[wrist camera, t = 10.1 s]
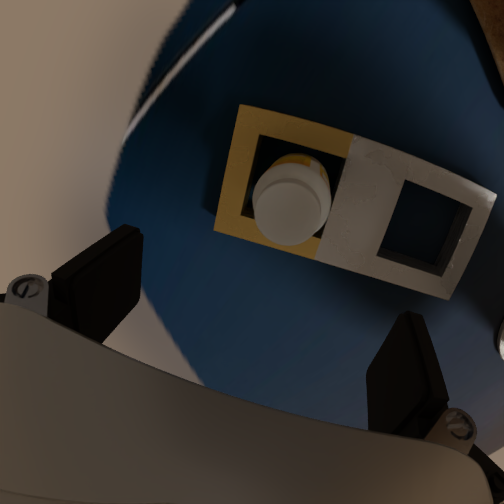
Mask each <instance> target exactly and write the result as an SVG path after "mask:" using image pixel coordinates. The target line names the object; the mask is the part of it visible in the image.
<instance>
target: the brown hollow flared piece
mask: <svg viewBox="0 0 504 504" xmlns="http://www.w3.org/2000/svg"><path fill="white" fill-rule="evenodd" d="M470 2H471V5H472V7H473V9H474V11H475V14H476V16H477V18H478V20H479V22H480V25H481V27H482V30H483V32H484V34H485V37H486V40H487V42H488V44H489V47H490V50H491V52H492V55H493V58H494V60H495V63H496V66H497V69H498V71H499V74H500V77H501V79H502V82H503V85H504V0H470Z"/></svg>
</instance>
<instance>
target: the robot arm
mask: <svg viewBox="0 0 504 504" xmlns="http://www.w3.org/2000/svg"><path fill="white" fill-rule="evenodd" d="M142 252H143V234H142V233H140V229H139V228H136V227H133V226H130V225H127V224H123V225H122V226H120V227H119V228H117V229H115V230H114V231H112V232H111V233H109V234H108V235H106V236H105V237H103V238H102V239H100V240H99V241H97V242H96V243H94V244H93V245H91V246H90V247H88V248H87V249H85V250H84V251H82V252H81V253H79V254H78V255H77V256H75V257H74V258H72V259H71V260H69V261H68V262H67V263H65V264H64V265H62V266H61V267H59V268H58V269H57V270H55V271H54V272H53V273H51V276H52V279H51V280H50V281H48V282H47V280H46V279H45V278H44V277H42V276H40V275H36V274H27V275H22V276H19V277H17V278H15V279H14V280H12V282H11V283H10V284H9V286H8V288H7V292H6V293H5V294H0V504H504V471H503V470H502V469H501V468H499V467H498V466H497V465H496V464H495V463H494V462H493V461H492V460H491V459H490V458H489V457H488V456H487V455H486V454H485V453H484V452H482V451H481V450H480V449H479V448H478V447H477V446H476V445H475V444H474V441H475V439H476V436H477V428H476V425H475V422H474V421H473V419H472V418H471V417H470V416H469V415H468V414H467V413H466V412H465V411H463V410H461V409H458V408H449V409H448V405H447V402H448V401H449V396H448V393H447V389H446V385H445V382H444V379H443V375H442V372H441V369H440V366H439V362H438V359H437V356H436V353H435V350H434V347H433V344H432V341H431V338H430V335H429V332H428V330H427V327H426V324H425V321H424V319H423V316H422V315H420V314H417V313H414V312H410V311H406V312H405V313H404V314H402V313H401V314H400V315H399V316H398V318H397V320H396V321H395V323H394V325H393V327H392V329H391V330H390V332H389V334H388V336H387V337H386V339H385V341H384V342H383V344H382V346H381V348H380V349H379V351H378V353H377V354H376V356H375V357H374V359H373V361H372V362H371V364H370V365H369V367H368V369H367V373H366V385H367V404H368V430H364V429H359V428H354V427H349V426H344V425H339V424H335V423H330V422H326V421H321V420H317V419H313V418H308V417H304V416H300V415H297V414H293V413H289V412H285V411H282V410H278V409H274V408H271V407H267V406H264V405H260V404H257V403H254V402H250V401H247V400H244V399H241V398H237V397H234V396H231V395H228V394H225V393H222V392H219V391H216V390H213V389H210V388H208V387H205V386H202V385H199V384H196V383H194V382H191V381H188V380H185V379H183V378H180V377H178V376H175V375H172V374H170V373H167V372H165V371H162V370H160V369H157V368H155V367H152V366H150V365H148V364H145V363H143V362H141V361H138V360H136V359H134V358H131V357H129V356H127V355H124V354H122V353H120V352H118V351H116V350H113V349H111V348H109V347H107V346H105V345H103V344H102V343H103V342H104V340H105V339H106V338H107V337H108V336H109V335H110V333H112V331H113V330H114V329H115V328H116V327H117V326H118V324H119V323H120V322H121V321H122V320H123V319H124V318H125V317H126V315H128V313H129V312H130V311H131V310H132V309H133V308H134V307H135V306H136V305H137V303H138V301H139V299H140V290H141V268H142ZM497 348H498V352H499V354H500V356H501V358H502V359H503V360H504V320H503V322H502V324H501V327H500V330H499V332H498V338H497Z"/></svg>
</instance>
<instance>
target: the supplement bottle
mask: <svg viewBox="0 0 504 504" xmlns="http://www.w3.org/2000/svg"><path fill="white" fill-rule="evenodd" d="M330 208H331V194H330V185H329V179H328V175H327V172H326V170H325V168H324V167H323V165H322V164H321V163H320V162H319V161H318V160H317V159H315V158H314V157H312V156H310V155H307V154H304V153H291V154H287V155H284V156H282V157H280V158H279V159H278V160H276V161H275V162H274V163H273V164H272V165H271V167H270V168H269V169H268V170H267V171H266V172H265V173H264V174H263V175H262V176H261V177H260V179H259V180H258V182H257V184H256V186H255V189H254V192H253V209H254V216H255V221H256V224H257V227H258V229H259V230H260V232H261V233H262V234H263V235H264V236H265V237H266V238H267V239H269V240H270V241H272V242H274V243H276V244H279V245H285V246H293V245H298V244H301V243H303V242H305V241H306V240H308V239H309V238H310V237H311V236H312V235H313V234H314V233H315V232H317V231H318V230H319V229H320V228H321V227H322V226H323V225H324V223H325V222H326V220H327V218H328V216H329V213H330Z"/></svg>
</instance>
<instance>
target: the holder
mask: <svg viewBox="0 0 504 504" xmlns="http://www.w3.org/2000/svg"><path fill="white" fill-rule="evenodd" d="M264 135H265V136H269V137H273V138H277V139H281V140H285V141H288V142H292V143H296V144H299V145H303V146H306V147H310V148H313V149H317V150H320V151H323V152H327V153H330V154H333V155H336V156H340V157H343V160H342V163H341V166H340V170H339V173H338V176H337V180H336V183H335V186H334V189H333V192H332V196H331V208H330V213H329V216H328V218H327V220H326V222H325V223H324V225H323V226H322V227H321V228H320V229H319V230H318V231H317V232H315V233H314V234H313V235H312V236H311V237H310V238H309V239H308V240H306V241H305V242H303V243H301V244H298V245H293V246H285V245H279V244H276V243H274V242H272V241H270V240H269V239H267V238H266V237H265V236H264V235H263V234H262V233H261V232H260V230H259V229H258V227H257V224H256V221H255V216H254V209H253V208H250V207H247V203H248V199H249V195H250V191H251V186H252V182H253V178H254V174H255V169H256V165H257V161H258V157H259V153H260V148H261V144H262V140H263V136H264ZM405 179H406V180H408V181H411V182H414V183H416V184H419V185H421V186H424V187H426V188H429V189H431V190H433V191H436V192H438V193H441V194H443V195H445V196H448V197H450V198H452V199H455V200H457V201H459V202H461V203H460V205H459V208H458V210H457V213H456V215H455V218H454V220H453V223H452V225H451V228H450V230H449V232H448V235H447V237H446V239H445V242H444V244H443V246H442V248H441V251H440V253H439V255H438V257H437V259H436V261H435V264H434V265H433V264H430V263H428V262H425V261H422V260H419V259H416V258H413V257H410V256H407V255H404V254H401V253H398V252H395V251H392V250H389V249H386V248H383V247H380V245H381V242H382V240H383V237H384V235H385V232H386V229H387V227H388V224H389V222H390V219H391V216H392V214H393V211H394V208H395V206H396V203H397V200H398V197H399V195H400V192H401V189H402V186H403V183H404V180H405ZM496 196H497V194H495V193H493V192H492V191H490V190H488V189H486V188H485V187H483V186H481V185H479V184H477V183H475V182H473V181H471V180H468V179H466V178H464V177H462V176H460V175H458V174H456V173H454V172H451V171H449V170H447V169H445V168H442V167H440V166H438V165H436V164H433V163H431V162H429V161H426V160H424V159H421V158H419V157H416V156H414V155H411V154H409V153H406V152H404V151H401V150H399V149H396V148H393V147H391V146H388V145H385V144H383V143H380V142H377V141H374V140H371V139H368V138H366V137H363V136H360V135H357V134H354V133H351V132H347V131H344V130H341V129H338V128H335V127H331V126H328V125H325V124H321V123H318V122H314V121H311V120H307V119H304V118H300V117H296V116H292V115H289V114H285V113H281V112H277V111H272V110H268V109H264V108H260V107H255V106H251V105H244V104H240V106H239V111H238V115H237V120H236V124H235V129H234V133H233V138H232V142H231V147H230V152H229V156H228V161H227V166H226V171H225V175H224V180H223V185H222V190H221V195H220V200H219V205H218V210H217V215H216V221H215V226H214V231H218V232H221V233H225V234H228V235H232V236H235V237H238V238H242V239H245V240H249V241H252V242H256V243H259V244H262V245H266V246H269V247H273V248H276V249H279V250H283V251H286V252H290V253H293V254H296V255H300V256H303V257H306V258H310V259H313V260H317V261H320V262H323V263H327V264H330V265H333V266H337V267H340V268H343V269H347V270H350V271H353V272H357V273H360V274H363V275H367V276H370V277H373V278H377V279H380V280H383V281H387V282H390V283H393V284H396V285H400V286H403V287H406V288H409V289H413V290H416V291H419V292H423V293H426V294H429V295H432V296H436V297H439V298H442V299H445V300H449V299H450V297H451V295H452V293H453V292H454V290H455V288H456V286H457V284H458V282H459V280H460V278H461V276H462V274H463V272H464V270H465V268H466V266H467V264H468V262H469V260H470V258H471V256H472V254H473V252H474V249H475V247H476V245H477V243H478V241H479V238H480V236H481V234H482V231H483V229H484V227H485V224H486V222H487V219H488V217H489V215H490V212H491V209H492V207H493V204H494V202H495V199H496Z"/></svg>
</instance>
